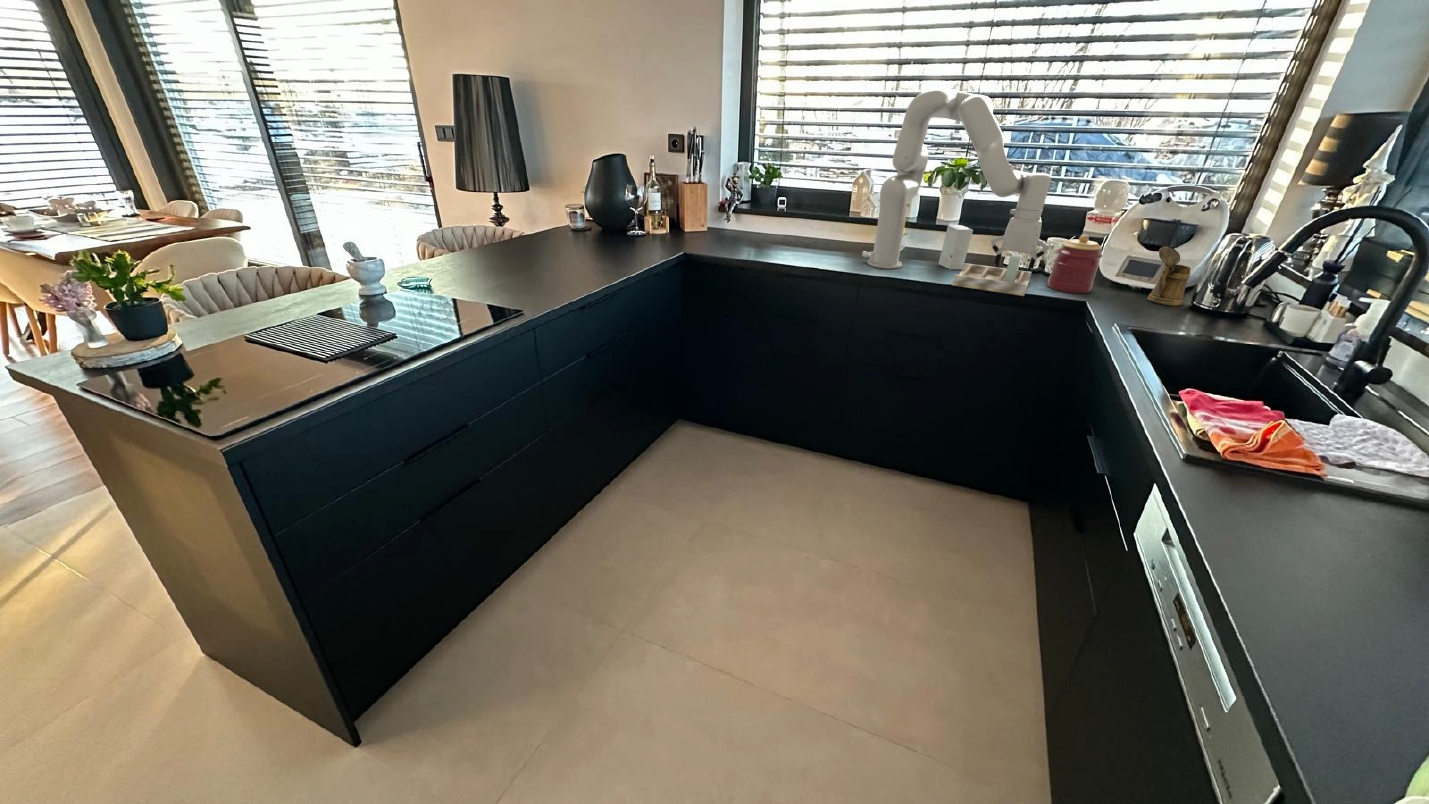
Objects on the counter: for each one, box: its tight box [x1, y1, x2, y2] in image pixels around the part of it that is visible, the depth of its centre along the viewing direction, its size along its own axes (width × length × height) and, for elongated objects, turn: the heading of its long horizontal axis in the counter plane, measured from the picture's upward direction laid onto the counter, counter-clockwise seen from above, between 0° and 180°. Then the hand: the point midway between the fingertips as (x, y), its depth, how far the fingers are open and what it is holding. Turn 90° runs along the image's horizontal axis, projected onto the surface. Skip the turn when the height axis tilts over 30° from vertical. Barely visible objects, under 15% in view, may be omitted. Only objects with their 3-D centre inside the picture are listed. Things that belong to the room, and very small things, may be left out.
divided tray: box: [951, 262, 1032, 297], centre depth 189 cm, size 22×20×4 cm
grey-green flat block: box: [1004, 253, 1023, 283], centre depth 185 cm, size 3×8×9 cm, turn 149°
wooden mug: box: [1146, 245, 1192, 307], centre depth 170 cm, size 9×14×18 cm, turn 110°
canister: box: [1047, 234, 1103, 294], centre depth 183 cm, size 13×13×18 cm
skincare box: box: [938, 224, 974, 270], centre depth 207 cm, size 8×6×15 cm
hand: (1012, 268), depth 185 cm, fingers open, 9 cm apart
